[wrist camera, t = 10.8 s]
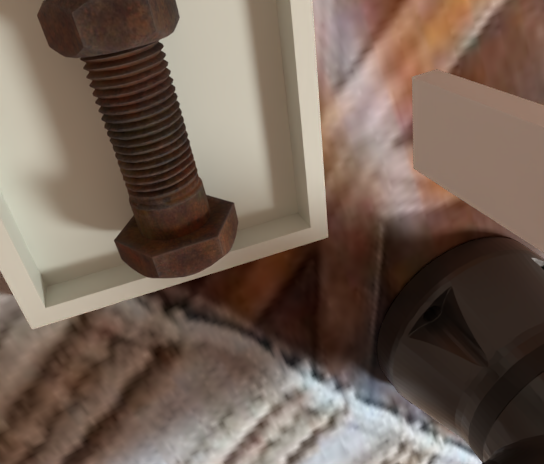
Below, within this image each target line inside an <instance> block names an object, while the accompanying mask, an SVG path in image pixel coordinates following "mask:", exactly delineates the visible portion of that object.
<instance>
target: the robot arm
mask: <svg viewBox="0 0 544 464" xmlns="http://www.w3.org/2000/svg"><path fill="white" fill-rule="evenodd" d="M412 98H413V164H414V169H415V170H417V171H418V172H420V173H421V174H423V175H425V176H426V177H428V178H429V179H431V180H432V181H434V182H435V183H437V184H438V185H440V186H441V187H443V188H445V189H446V190H448V191H449V192H451V193H452V194H454V195H455V196H457V197H458V198H460V199H461V200H463V201H465V202H466V203H468V204H469V205H471V206H472V207H474V208H475V209H477V210H478V211H480V212H482V213H483V214H485V215H486V216H488V217H489V218H491V219H492V220H494V221H495V222H497V223H498V224H500V225H502V226H503V227H505V228H506V229H508V230H509V231H511V232H512V233H514V234H515V235H517V236H518V237H520V238H522V239H523V240H525V241H526V242H528V243H529V244H531V245H532V246H534V247H535V248H537V249H539V250H540V251H542V252H543V253H544V105H541V104H538V103H535V102H532V101H529V100H526V99H523V98H520V97H517V96H514V95H511V94H508V93H505V92H503V91H500V90H497V89H494V88H491V87H488V86H485V85H482V84H479V83H476V82H473V81H470V80H467V79H464V78H461V77H458V76H455V75H452V74H449V73H446V72H443V71H440V70H437V69H436V70H433V71H430V72H426V73H423V74H420V75H416V76H413V77H412ZM377 357H378V362H379V365H380V367H381V369H382V371H383V373H384V374H385V375H386V377H387V378H388V379H389V381H390V382H391V383H392V385H393V386H394V387H395V389H396V390H397V391H398V393H399V394H400V395H401V396H402V397H404V398H405V399H406V400H407V401H409V402H410V403H412V404H414V405H415V406H417V407H418V408H419V409H421V410H422V411H423V412H425V413H426V414H428V415H429V416H430V417H432V418H433V419H435V420H436V421H438V422H439V423H440V424H442V425H443V426H445V427H446V428H448V429H449V430H451V431H452V432H453V433H455V434H456V435H458V436H459V437H461V438H462V439H463V440H464V441H465V442H466V443H467V444H468V445H469V446H470V447H471V449H472V450H473V451H474V453H475V454H476V455H477V456H478V458H479V459H480V460H481V461H482V462H483V463H482V464H544V259H543V258H542V257H541V256H539V255H538V254H536V253H535V252H533V251H532V250H530V249H529V248H527V247H526V246H524V245H523V244H521V243H520V242H518V241H515V240H513V239H509V238H503V237H489V238H482V239H478V240H474V241H470V242H468V243H465V244H462V245H460V246H458V247H455V248H454V249H452V250H450V251H448V252H446V253H444V254H443V255H441V256H440V257H438V258H436V259H435V260H434V261H432V262H431V263H429V264H428V265H427V266H426V267H424V268H423V269H422V270H421V271H420V272H419V273H418V274H417V275H416V276H415V277H413V278H412V279H411V281H410V282H409V283H408V284H407V285H406V286H405V287H404V288H403V290H402V291H401V292H400V293H399V295H398V296H397V297H396V299H395V300H394V302H393V303H392V305H391V307H390V308H389V310H388V312H387V314H386V316H385V318H384V320H383V323H382V326H381V328H380V332H379V336H378V342H377Z"/></svg>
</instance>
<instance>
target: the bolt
mask: <svg viewBox="0 0 544 464" xmlns="http://www.w3.org/2000/svg"><path fill="white" fill-rule="evenodd" d="M37 17H38V20H39V22H40V25H41V27H42V30H43V32H44V35H45V38H46V40H47V43H48V45H49V47H50V48H52V49H53V50H55V51H56V52H58V53H59V54H61V55H62V56H64V57H70V58H80V60H81V61H84V62H86V64H85V66H84V67H83V69H84V70H87V71H89V73H88V75H87V76H86V78H88V79H90V80H92V82H91V83H90V85H89V86H90V87H92V88H94V89H95V90H94V91H93V96H94V97H98V99H97V100H96V101H95V103H96V104H97V105H99V106H101V107H100V108H99V110H98V111H99V112H100V113H102V114H103V116H102V118H101V120H102V121H104V122H106V123H105V125H104V128H105V129H107V130H108V131H107V135H108V137H110V142H111V144H112V145H113V150H114V152H116V153H115V157H116V158H117V160H118V165H119V167H120V171H121V173H122V175H123V180H124V181H125V186H126V188H127V191H128V194H129V203H130V206H131V208H132V211H133V214H134V216H133V217H132V218H131V219H130V221H129V222H128V223H127V224H126V226H125V227H124V228H123V229H122V231H121V232H120V233H119V234H118V236H117V237H116V238H115V240H114V242H115V244H116V247H117V249H118V252H119V254H120V257H121V259H122V260H123V261H124V262H125V263H126V264H127V265H128V266H129V267H131V268H132V269H133V270H135V271H136V272H138V273H140V274H141V275H143V276H145V277H148V278H179V277H186V276H190V275H194V274H196V273H199V272H201V271H203V270H205V269H206V268H208V267H210V266H212V265H213V264H214V263H216V262H217V261H218V260H220V259H221V258H222V257H224V256H225V255H226V254H228V253H229V251H230V250H231V248H232V246H233V244H234V241H235V238H236V234H237V228H238V218H237V213H236V209H235V204H234V203H233V202H230V201H226V200H223V199H220V198H216V197H213V196H209V195H206V193H205V189H204V186H203V182H202V179H201V178H200V177H199V176H198V173H197V171H198V170H197V168H196V164H195V161H194V156H193V154H192V149H191V146H190V140H189V139H188V133H187V131H186V126H185V123H183V122H184V118H183V116H182V115H181V114H182V111H181V109H180V108H179V106H180V103H179V102H178V101H177V97H178V96H177V94H176V93H174V92H175V86H174V85H172V83H173V78H171V77H170V76H169V75H170V73H171V71H170V70H169V69H168V68H166V67H167V66H168V62H167V61H166V60H164V58H165V56H166V53H164V52H163V51H161V50H162V48H163V47H164V45H163V44H162V43H160V42H159V40H160V39H163V38H165V37H167V36H169V35H170V34H172V33H173V32H174V30H175V28H176V26H177V24H178V21H179V18H180V16H179V12H178V8H177V4H176V0H44V1H43V3H42V5H41V7H40V9H39V12H38V14H37Z"/></svg>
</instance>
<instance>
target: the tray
mask: <svg viewBox="0 0 544 464" xmlns="http://www.w3.org/2000/svg"><path fill="white" fill-rule="evenodd" d="M43 1H44V0H0V271H1V273H2V275H3V277H4V278H5V280H6V282H7V284H8V286H9V288H10V290H11V292H12V293H13V295H14V297H15V299H16V301H17V303H18V305H19V307H20V308H21V310H22V312H23V314H24V316H25V318H26V320H27V321H28V323H29V325H30V327H31V329H32V330H33V329H36V328H39V327H42V326H45V325H49V324H52V323H55V322H58V321H61V320H65V319H68V318H71V317H74V316H78V315H81V314H84V313H87V312H90V311H94V310H97V309H100V308H103V307H106V306H110V305H113V304H116V303H119V302H122V301H126V300H129V299H132V298H135V297H139V296H142V295H145V294H148V293H151V292H155V291H158V290H161V289H164V288H167V287H171V286H174V285H177V284H180V283H183V282H187V281H190V280H193V279H196V278H200V277H203V276H206V275H209V274H212V273H216V272H219V271H222V270H225V269H228V268H232V267H235V266H238V265H241V264H244V263H248V262H251V261H254V260H257V259H261V258H264V257H267V256H270V255H273V254H277V253H280V252H283V251H286V250H289V249H293V248H296V247H299V246H302V245H305V244H309V243H312V242H315V241H318V240H322V239H325V238H328V225H327V210H326V195H325V180H324V166H323V151H322V136H321V121H320V106H319V92H318V77H317V62H316V47H315V32H314V18H313V3H312V0H176V4H177V8H178V12H179V16H180V18H179V21H178V24H177V26H176V28H175V30H174V32H173V33H172V34H170V35H169V36H167V37H165V38H163V39H160V40H159V42H160V43H162V44H163V45H164V47H163V48H162V50H161V51H163V52H164V53H166V56H165V58H164V60H166V61H167V62H168V66H167V67H166V68H168V69H169V70H170V71H171V73H170V75H169V76H170V77H171V78H173V83H172V85H174V86H175V92H174V93H176V94H177V96H178V97H177V101H178V102H179V103H180V106H179V108H180V109H181V111H182V114H181V115H182V116H183V118H184V122H183V123H185V126H186V131H187V133H188V139H189V140H190V146H191V149H192V154H193V156H194V161H195V164H196V168H197V170H198V171H197V173H198V176H199V177H200V178H201V179H202V182H203V186H204V189H205V193H206V195H209V196H213V197H216V198H220V199H223V200H226V201H230V202H233V203H234V204H235V209H236V213H237V218H238V228H237V234H236V238H235V241H234V244H233V246H232V248H231V250H230V251H229V253H228V254H226V255H225V256H224V257H222V258H221V259H220V260H218V261H217V262H216V263H214V264H213V265H212V266H210V267H208V268H206V269H205V270H203V271H201V272H199V273H196V274H194V275H190V276H186V277H179V278H148V277H145V276H143V275H141V274H140V273H138V272H136V271H135V270H133V269H132V268H131V267H129V266H128V265H127V264H126V263H125V262H124V261H123V260H122V259H121V257H120V254H119V252H118V249H117V247H116V244H115V242H114V240H115V238H116V237H117V236H118V234H119V233H120V232H121V231H122V229H123V228H124V227H125V226H126V224H127V223H128V222H129V221H130V219H131V218H132V217H133V216H134V214H133V211H132V208H131V206H130V203H129V194H128V191H127V188H126V186H125V181H124V180H123V175H122V173H121V171H120V167H119V165H118V160H117V158H116V157H115V153H116V152H114V150H113V145H112V144H111V142H110V137H108V135H107V131H108V130H107V129H105V128H104V125H105V123H106V122H104V121H102V120H101V118H102V116H103V114H102V113H100V112H99V111H98V110H99V108H100V107H101V106H99V105H97V104H96V103H95V101H96V100H97V99H98V97H94V96H93V91H94V90H95V89H94V88H92V87H90V86H89V85H90V83H91V82H92V80H90V79H88V78H86V76H87V75H88V73H89V71H87V70H84V69H83V67H84V66H85V64H86V62H84V61H81V60H80V58H70V57H64V56H62V55H61V54H59V53H58V52H56V51H55V50H53V49H52V48H50V47H49V45H48V43H47V40H46V38H45V35H44V32H43V30H42V27H41V25H40V22H39V20H38V17H37V14H38V12H39V9H40V7H41V5H42V3H43Z"/></svg>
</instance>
